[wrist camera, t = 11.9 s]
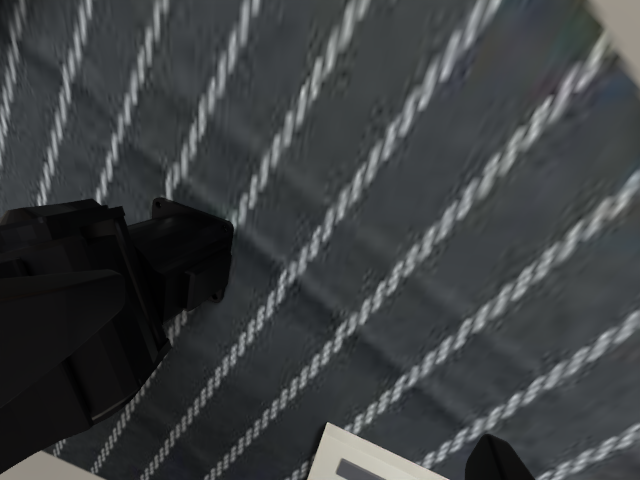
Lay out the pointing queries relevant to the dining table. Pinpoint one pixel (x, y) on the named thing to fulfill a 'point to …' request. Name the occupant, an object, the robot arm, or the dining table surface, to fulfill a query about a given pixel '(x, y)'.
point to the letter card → (361, 460)
